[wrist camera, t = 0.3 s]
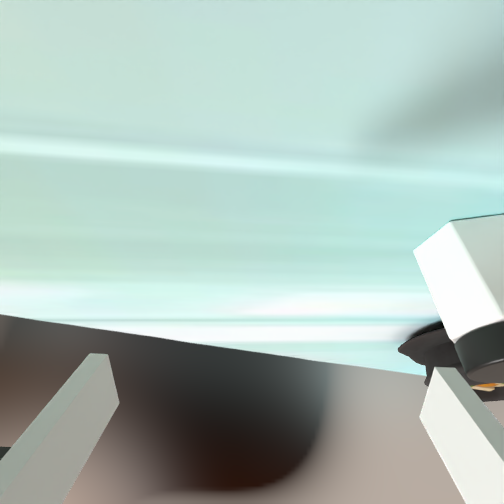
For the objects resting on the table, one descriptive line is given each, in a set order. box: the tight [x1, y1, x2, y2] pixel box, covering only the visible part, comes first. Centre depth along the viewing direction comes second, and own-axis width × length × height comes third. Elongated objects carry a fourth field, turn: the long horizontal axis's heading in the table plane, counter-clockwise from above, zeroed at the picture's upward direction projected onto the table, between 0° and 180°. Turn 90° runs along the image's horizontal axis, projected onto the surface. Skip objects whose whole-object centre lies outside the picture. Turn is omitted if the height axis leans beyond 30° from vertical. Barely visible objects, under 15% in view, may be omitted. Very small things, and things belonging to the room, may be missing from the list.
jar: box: [414, 214, 504, 383], centre depth 24 cm, size 9×8×12 cm
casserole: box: [398, 328, 504, 402], centre depth 45 cm, size 25×19×8 cm
